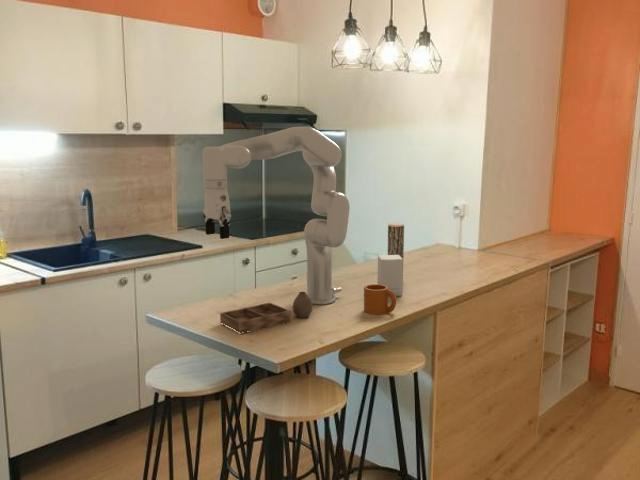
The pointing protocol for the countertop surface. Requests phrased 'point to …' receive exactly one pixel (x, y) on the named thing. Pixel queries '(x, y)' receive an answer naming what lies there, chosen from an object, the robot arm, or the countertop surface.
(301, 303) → the vase
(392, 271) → the supplement box
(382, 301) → the mug
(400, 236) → the bark covered log
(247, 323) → the divided wooden tray
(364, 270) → the countertop surface
